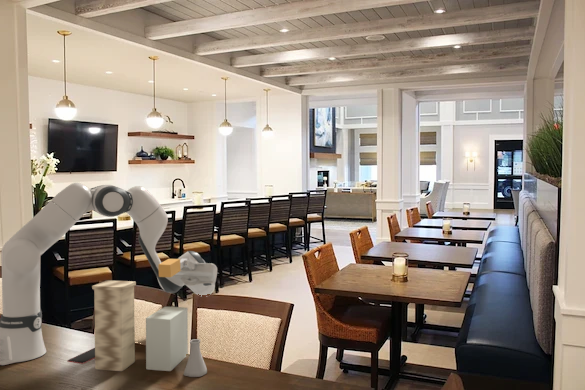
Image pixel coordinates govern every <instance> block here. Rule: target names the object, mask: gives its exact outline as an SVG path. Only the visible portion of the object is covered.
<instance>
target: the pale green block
mask: <svg viewBox="0 0 585 390" xmlns="http://www.w3.org/2000/svg"><path fill="white" fill-rule="evenodd" d="M188 311H189V308H188V307H183V306H182V307H180V306H163V307H162V308H159V309H158V310H157V311H155V312H153V313H152V314H151V315H149V316H147V317H145V360H146V361H145V362H146V363H145V368H146V369H145V370H149V371H150V370H152V371H163V372H164V371H166V372H171V371H173V370H174V369H175V368H176V367H177V366H178V365H179V364H180V363H181V362H182V361H183V360H184V359H185V358H186V357H187V356H186V354H188V355H189V345H188V344H189V343H188V342H189V338H188V337H189V335H188V334H189V333H188V332H189V331H188V330H189V328H188V327H189V326H188V325H189V324H188V323H189V321H188V320H189V319H188V317H189V316H188V315H189V313H188Z"/></svg>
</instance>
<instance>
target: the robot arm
mask: <svg viewBox="0 0 585 390" xmlns="http://www.w3.org/2000/svg"><path fill="white" fill-rule="evenodd" d="M91 211H94V212H96V213H97V214H99V215H100V216H104V217H109V218H113V217H118V216H120V215H122V214H128V215H129V216H130V218H131V219H132V220H133V222H134V223H135V224H136V225H137V227H138V230H139V234H138V237H137V239H138V243H139V245H140V247H141V249H142V251H143V253H144V255H145V257H146V259H147V261H148V263H149V265H150V267H151V268H152V270H153V272H154V274H155V276H156V278H157V282H158V284H159V286H160V288H161V289H162V290H163V291H164V292H166V293H167V294H168V293H169V292H170V293H169V294H171V293H173V294H174V293H177V292H178V291H180V289H182V288H183V286H186V287H187V288H188V289H190V291H191V292H192V293H194V294H195V295H197V296H199V295H201V296H200V297H202V295H207V294H210V295H211V294H212V293H213V292H214V290H215V288H216V282H217V276H218V267H217V265H216V264H215V263H212V262H211V263H210V262H209V263H208V262H206V261H205V260H204V259H203V258H202V257H201V255H200V254H199V253H198V252H196V251H194V250H188V251H186V252H184V253H183V254H182V255H181V256H179V257H178V258H177V259H180V260H181V259H188V261H186V260H184V264H183V265H184V266H185V267H183V268H181V271H180V272H178V273H177V274H175V275H174V276H172V277H159V267H158V264H160V263H162V262H163V261H161V259H160V257H159V255H158V252H157V251H156V246H157V243H158V242H159V240H160V238H161V237H162V236H163V233H164V232H165V231H166V228H167V226H168V219H169V217H168V214H167V213H166V211H165V209H164V207H163V206H162V205H161V204H160V202H159V201H158V200H157V199H156V197H155V196H153V194H151V193H150V192H149V191H148V190H147V189H146V188H145V187H144V186H140V185H136V186H133V187H130V188H128V189H123V188H120V187H118V186H115V185H112V184H102V185H98V186H95V187H92V188H89V187H88V186H86V185H85V184H83V183H82V182H81V183H80V182H73V183H71V184H69V185H68V186H66V187H65V188H63V189H62V190H61V191H59V192H58V193H57V194H56V195H55V196H54V197H52V199H50V200H49V201H48V202H47V203H46V205H44V206H43V208H41V209H40V211H38V212H37V214H35V215H34V216H33V218H31V219H30V220H29V221H28V222H27V223H26V224H25V225H23V226H22V227H21V228H20V229H19V230H18V231H17V232H16V233H14V234H13V235H12V236H11V237H10V238H9V239H8V240H7V241H6V242H5V243H4V244H3V246H2V248H1V297H2V300H1V301H2V304H1V305H2V309H1V310H2V314H0V366H5V365H9V364H15V363H21V362H26V361H30V360H34V359H37V358H38V359H39V358H40V357H42V356H43V355H45V354H46V353H47V349H46V346H45V345H46V344H45V341H44V338H43V332H42V331H43V330H42V323H43V319H42V318H43V314H42V313H43V311H42V309H41V288H40V287H41V256H42V255H43V254H44V253H45V252H46V251H48V250H49V249H50V248H51V247H52V246H53V245H54V244H56V243H57V242H58V241H59V240H61V239H62V238H63V236H64V235H66V233H68V231H70V230H71V228H72V227H73V226H75V224H76V223H77V222H78V221H79V220H80V219H81V218H82V217H83V216H84V215H85V214H87V213H88V212H91ZM198 294H199V295H198Z"/></svg>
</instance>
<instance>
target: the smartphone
mask: <svg viewBox="0 0 585 390" xmlns="http://www.w3.org/2000/svg"><path fill="white" fill-rule="evenodd" d="M92 360H95V347H93V348H91V349H89V350H87V351H85V352H83V353H80V354H77V355H76V356H74V357H72V358H69V359H67V360H66V361H67V362H68V363H73V364H81V365H83V364H86V363H88V362H90V361H92Z"/></svg>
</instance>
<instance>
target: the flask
mask: <svg viewBox="0 0 585 390" xmlns="http://www.w3.org/2000/svg"><path fill="white" fill-rule="evenodd" d="M189 343H190V352H189V355H188V359H187V361H186V366H185V368H184V371H183V376H186V377H189V378H197V377H200V378H201V377H202V376H205V375H207V373H208V369H207V365H206V362H205V361H204V358H203V357H204V356H203V355H202V352H201V347H200V345H201V344H200V343H201V339H199V338H198V339H197V338H196V339H195V338H193V339H191V340H190V341H189Z"/></svg>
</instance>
